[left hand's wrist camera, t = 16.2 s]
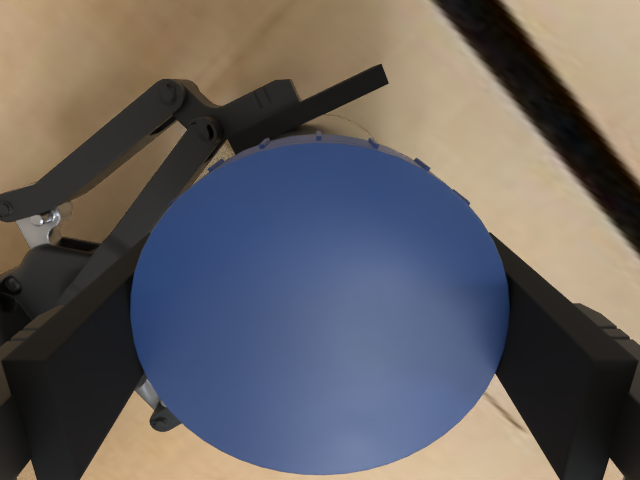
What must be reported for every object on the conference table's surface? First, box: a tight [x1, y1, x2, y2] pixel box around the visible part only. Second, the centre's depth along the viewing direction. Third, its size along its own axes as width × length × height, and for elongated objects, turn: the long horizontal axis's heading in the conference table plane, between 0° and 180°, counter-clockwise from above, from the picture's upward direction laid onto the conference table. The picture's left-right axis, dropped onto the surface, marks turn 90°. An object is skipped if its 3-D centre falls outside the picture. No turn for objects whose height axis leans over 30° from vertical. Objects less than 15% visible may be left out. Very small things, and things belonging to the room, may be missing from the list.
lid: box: [130, 131, 510, 475], centre depth 11 cm, size 9×9×2 cm
